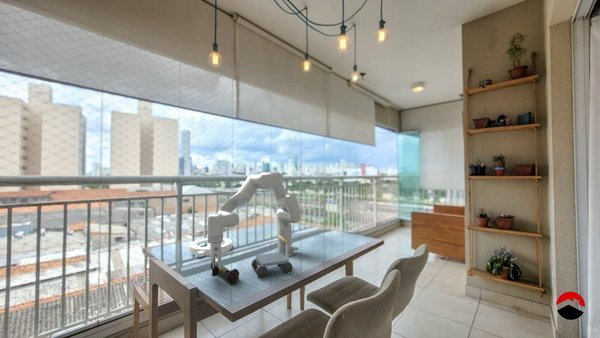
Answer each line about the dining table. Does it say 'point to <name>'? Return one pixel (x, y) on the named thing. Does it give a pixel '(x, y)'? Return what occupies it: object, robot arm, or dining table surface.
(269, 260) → the trolley
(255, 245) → the dining table surface
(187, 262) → the dining table surface
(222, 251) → the ring with crossbar
